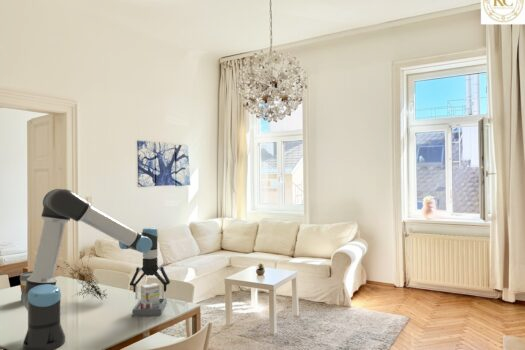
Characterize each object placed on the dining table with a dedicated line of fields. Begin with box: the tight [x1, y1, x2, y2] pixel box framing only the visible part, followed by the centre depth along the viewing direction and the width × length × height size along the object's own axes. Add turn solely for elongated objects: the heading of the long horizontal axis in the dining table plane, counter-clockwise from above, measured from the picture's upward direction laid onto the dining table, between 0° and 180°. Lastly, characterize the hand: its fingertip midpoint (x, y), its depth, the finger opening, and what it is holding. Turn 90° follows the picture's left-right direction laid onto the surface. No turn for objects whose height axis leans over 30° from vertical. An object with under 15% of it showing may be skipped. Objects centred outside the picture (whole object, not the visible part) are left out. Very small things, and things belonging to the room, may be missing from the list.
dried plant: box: [56, 248, 108, 301], centre depth 220 cm, size 30×31×45 cm
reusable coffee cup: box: [19, 270, 33, 294], centre depth 221 cm, size 13×13×15 cm
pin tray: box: [132, 297, 168, 317], centre depth 202 cm, size 18×14×6 cm
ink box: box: [140, 282, 160, 309], centre depth 202 cm, size 9×5×12 cm, turn 128°
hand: (150, 298), depth 202 cm, fingers open, 13 cm apart
